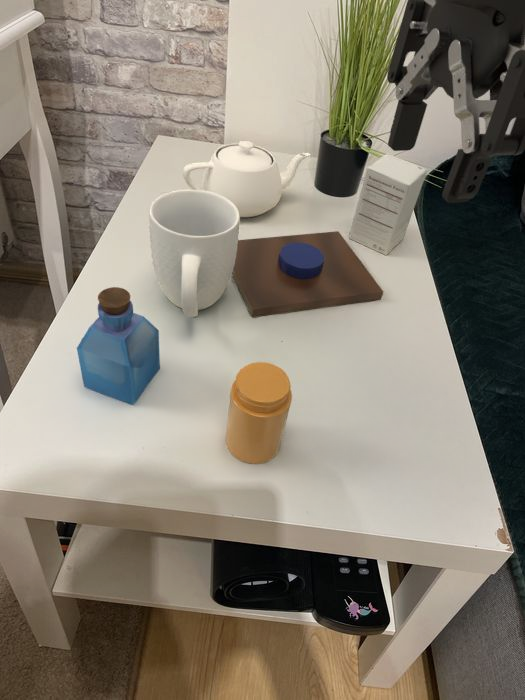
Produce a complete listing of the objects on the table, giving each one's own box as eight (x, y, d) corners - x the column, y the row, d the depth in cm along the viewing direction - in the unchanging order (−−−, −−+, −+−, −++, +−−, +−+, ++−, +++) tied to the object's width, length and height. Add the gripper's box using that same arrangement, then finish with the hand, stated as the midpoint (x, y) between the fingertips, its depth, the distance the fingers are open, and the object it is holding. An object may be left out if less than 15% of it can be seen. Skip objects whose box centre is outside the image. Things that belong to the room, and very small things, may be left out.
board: (336, 238, 87) (338, 230, 86) (381, 299, 77) (384, 291, 76) (220, 249, 81) (220, 241, 80) (251, 317, 70) (253, 309, 69)
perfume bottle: (84, 386, 59) (68, 305, 50) (113, 351, 63) (103, 271, 55) (133, 405, 58) (125, 325, 49) (159, 368, 62) (157, 289, 54)
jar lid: (320, 255, 80) (322, 244, 79) (323, 281, 76) (325, 270, 74) (278, 250, 80) (279, 240, 78) (278, 276, 75) (279, 265, 74)
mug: (232, 345, 66) (241, 260, 57) (144, 340, 65) (138, 252, 56) (232, 273, 77) (240, 192, 68) (156, 268, 76) (153, 184, 66)
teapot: (192, 229, 84) (193, 165, 76) (173, 187, 93) (173, 126, 85) (316, 219, 91) (329, 159, 83) (288, 180, 99) (297, 123, 92)
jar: (270, 413, 59) (282, 354, 53) (288, 457, 55) (304, 399, 49) (219, 423, 57) (224, 363, 51) (234, 469, 54) (242, 411, 47)
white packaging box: (366, 221, 92) (386, 152, 83) (404, 238, 89) (429, 168, 81) (346, 238, 87) (366, 166, 78) (386, 256, 85) (410, 184, 76)
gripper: (398, -117, 33) (345, 136, 45) (546, -86, 24) (431, 225, 35) (495, -106, 35) (421, 133, 47) (666, -73, 26) (521, 216, 37)
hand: (426, 172), depth 41 cm, fingers open, 8 cm apart
